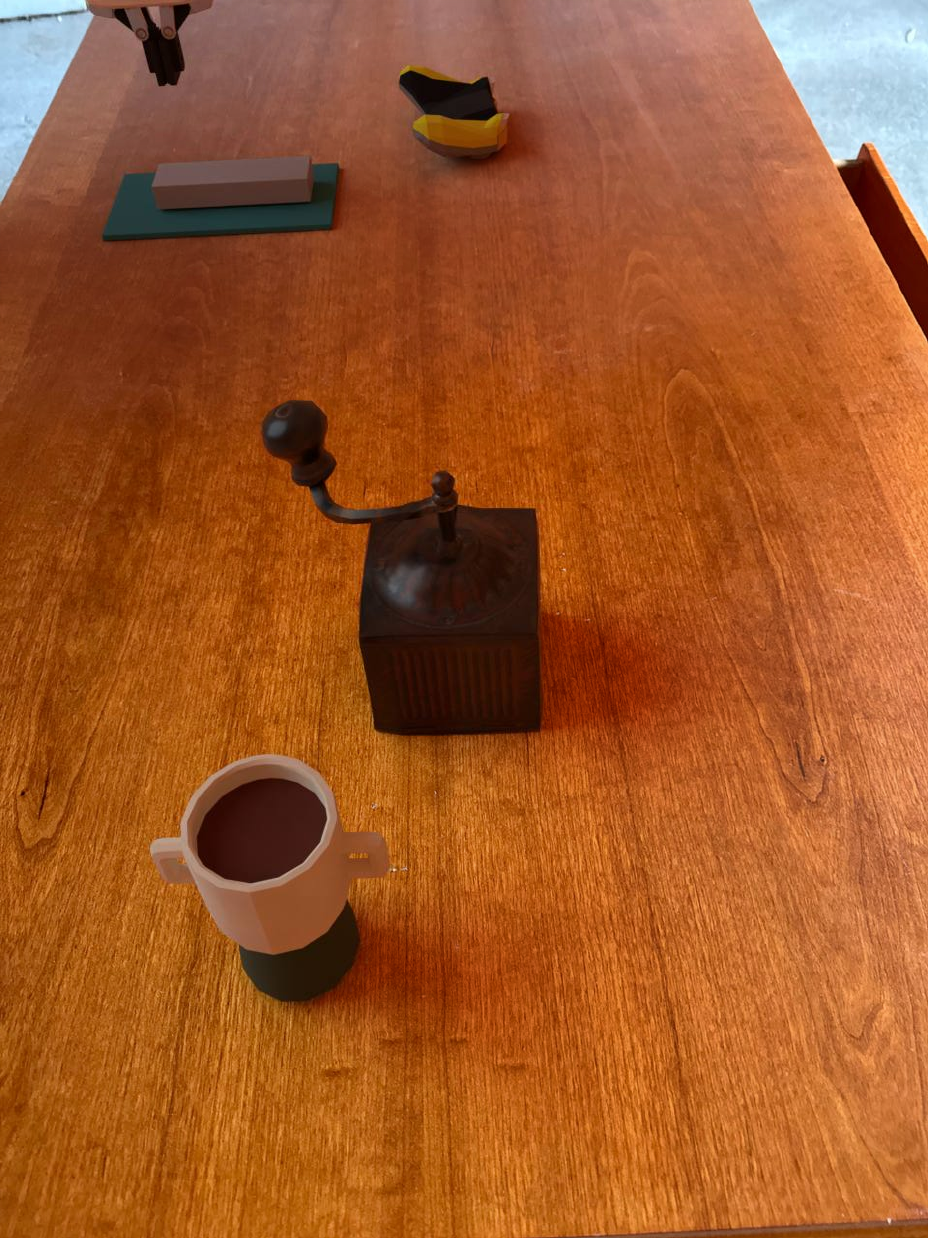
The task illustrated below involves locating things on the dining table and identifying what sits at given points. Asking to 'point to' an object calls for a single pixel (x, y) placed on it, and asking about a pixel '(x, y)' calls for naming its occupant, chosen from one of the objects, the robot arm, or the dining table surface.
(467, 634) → the manual coffee grinder
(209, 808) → the character mug
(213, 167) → the remote
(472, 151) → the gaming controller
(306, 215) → the felt mat
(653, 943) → the dining table surface
